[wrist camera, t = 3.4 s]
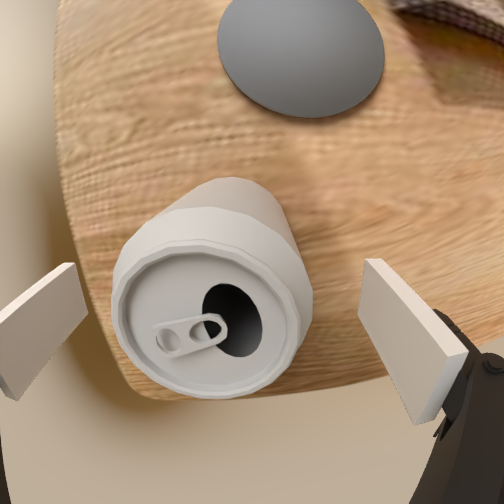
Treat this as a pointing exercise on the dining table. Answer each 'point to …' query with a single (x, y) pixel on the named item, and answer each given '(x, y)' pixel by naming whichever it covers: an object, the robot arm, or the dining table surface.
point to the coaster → (301, 54)
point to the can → (213, 292)
